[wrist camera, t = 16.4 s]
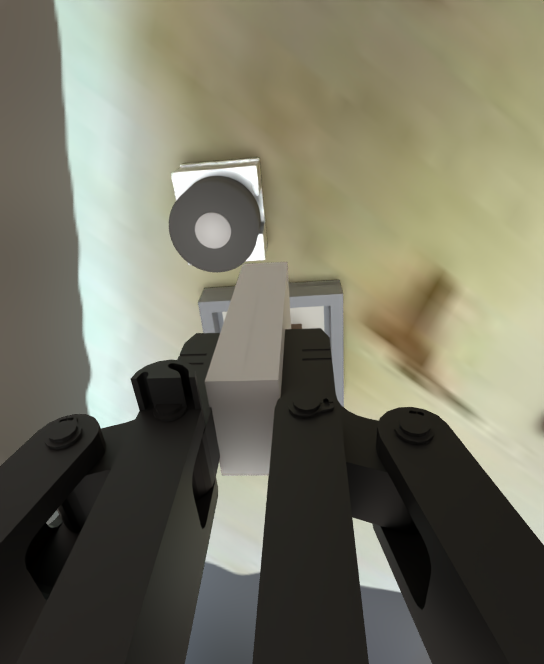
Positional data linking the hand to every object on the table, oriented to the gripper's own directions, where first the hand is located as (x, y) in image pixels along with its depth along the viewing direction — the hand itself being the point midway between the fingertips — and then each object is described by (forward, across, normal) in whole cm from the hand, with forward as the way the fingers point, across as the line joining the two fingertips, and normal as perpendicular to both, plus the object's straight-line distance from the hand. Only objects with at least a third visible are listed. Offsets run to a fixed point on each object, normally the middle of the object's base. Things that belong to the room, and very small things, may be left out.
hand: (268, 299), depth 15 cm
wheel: (+21, -5, -2) cm, 21 cm away
